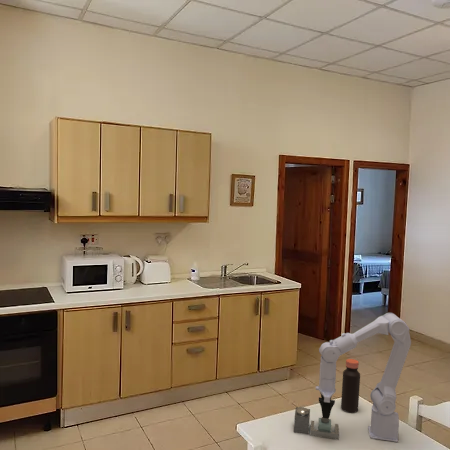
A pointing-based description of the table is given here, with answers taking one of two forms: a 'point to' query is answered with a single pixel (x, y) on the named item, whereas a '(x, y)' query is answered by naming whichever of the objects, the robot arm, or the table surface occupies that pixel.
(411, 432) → the table surface
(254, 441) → the table surface
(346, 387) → the bottle
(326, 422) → the pale blue block
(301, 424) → the motor mount
